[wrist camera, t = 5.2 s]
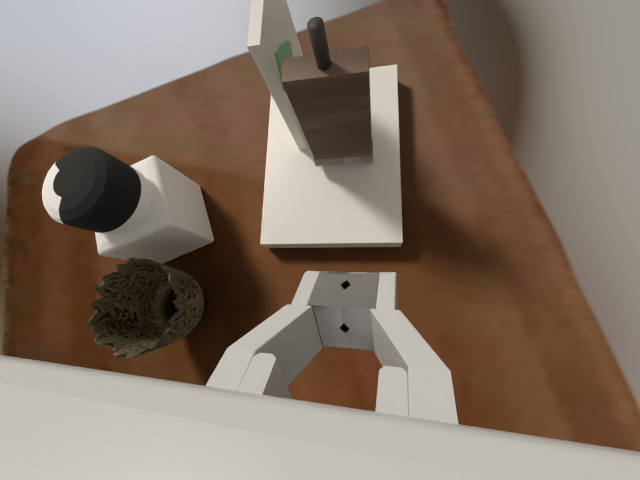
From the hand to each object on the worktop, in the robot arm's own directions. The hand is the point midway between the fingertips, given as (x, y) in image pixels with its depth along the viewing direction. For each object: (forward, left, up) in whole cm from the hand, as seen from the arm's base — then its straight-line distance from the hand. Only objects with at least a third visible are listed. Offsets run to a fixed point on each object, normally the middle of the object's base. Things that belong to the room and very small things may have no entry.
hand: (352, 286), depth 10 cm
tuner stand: (+14, -3, -17) cm, 22 cm away
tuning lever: (+12, -4, -14) cm, 19 cm away
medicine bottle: (+15, +15, -18) cm, 28 cm away
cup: (+6, +16, -17) cm, 25 cm away
